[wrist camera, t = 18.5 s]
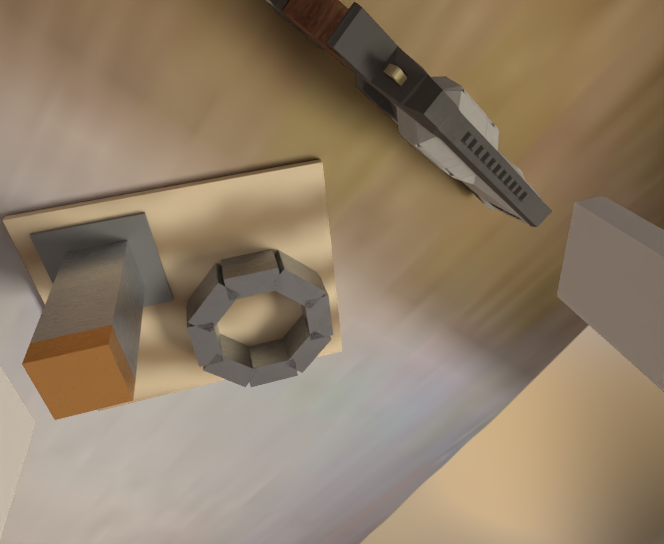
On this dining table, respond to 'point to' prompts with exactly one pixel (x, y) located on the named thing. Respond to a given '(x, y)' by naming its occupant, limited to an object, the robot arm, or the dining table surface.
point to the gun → (419, 104)
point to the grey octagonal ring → (248, 280)
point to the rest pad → (104, 232)
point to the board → (208, 258)
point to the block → (89, 332)
